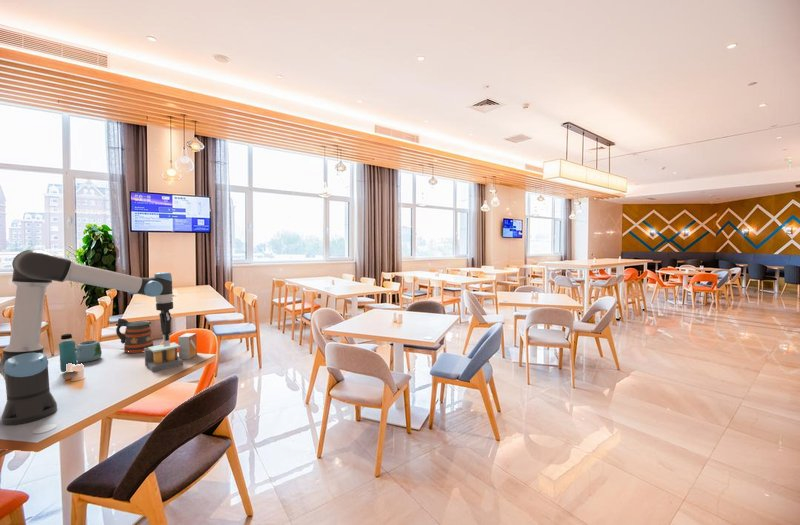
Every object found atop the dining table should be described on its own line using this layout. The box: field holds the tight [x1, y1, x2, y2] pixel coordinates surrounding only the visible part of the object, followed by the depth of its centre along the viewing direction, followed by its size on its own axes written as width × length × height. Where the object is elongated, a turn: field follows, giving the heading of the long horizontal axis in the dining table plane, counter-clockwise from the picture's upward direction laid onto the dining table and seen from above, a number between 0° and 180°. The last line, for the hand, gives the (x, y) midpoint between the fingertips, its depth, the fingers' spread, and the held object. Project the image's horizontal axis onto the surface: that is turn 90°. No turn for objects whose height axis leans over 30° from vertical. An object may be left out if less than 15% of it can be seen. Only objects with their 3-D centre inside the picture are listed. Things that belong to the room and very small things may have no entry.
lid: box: [148, 342, 180, 352], centre depth 194 cm, size 12×12×1 cm
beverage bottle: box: [58, 333, 78, 373], centre depth 183 cm, size 6×7×20 cm
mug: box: [76, 340, 103, 363], centre depth 201 cm, size 15×11×10 cm
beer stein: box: [115, 318, 154, 354], centre depth 220 cm, size 19×15×20 cm
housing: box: [143, 342, 184, 372], centre depth 195 cm, size 15×14×10 cm
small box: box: [177, 332, 198, 360], centre depth 208 cm, size 8×6×13 cm
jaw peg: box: [166, 348, 175, 362], centre depth 197 cm, size 4×4×9 cm
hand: (166, 345), depth 190 cm, fingers closed
